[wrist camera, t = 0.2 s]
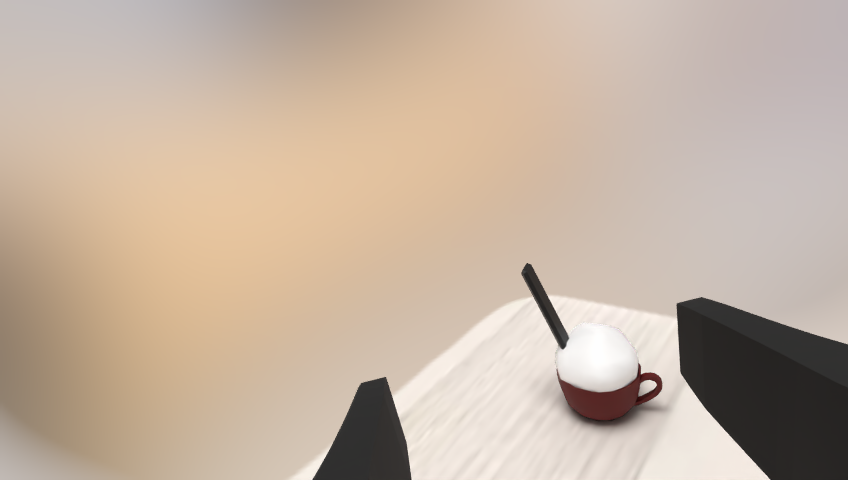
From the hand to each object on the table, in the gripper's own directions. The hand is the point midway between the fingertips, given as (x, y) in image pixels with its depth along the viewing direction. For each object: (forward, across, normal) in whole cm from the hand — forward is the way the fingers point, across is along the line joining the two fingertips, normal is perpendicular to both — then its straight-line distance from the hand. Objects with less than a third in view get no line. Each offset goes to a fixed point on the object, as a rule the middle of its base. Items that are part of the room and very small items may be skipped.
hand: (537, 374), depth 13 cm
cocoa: (+23, -9, +22) cm, 33 cm away
